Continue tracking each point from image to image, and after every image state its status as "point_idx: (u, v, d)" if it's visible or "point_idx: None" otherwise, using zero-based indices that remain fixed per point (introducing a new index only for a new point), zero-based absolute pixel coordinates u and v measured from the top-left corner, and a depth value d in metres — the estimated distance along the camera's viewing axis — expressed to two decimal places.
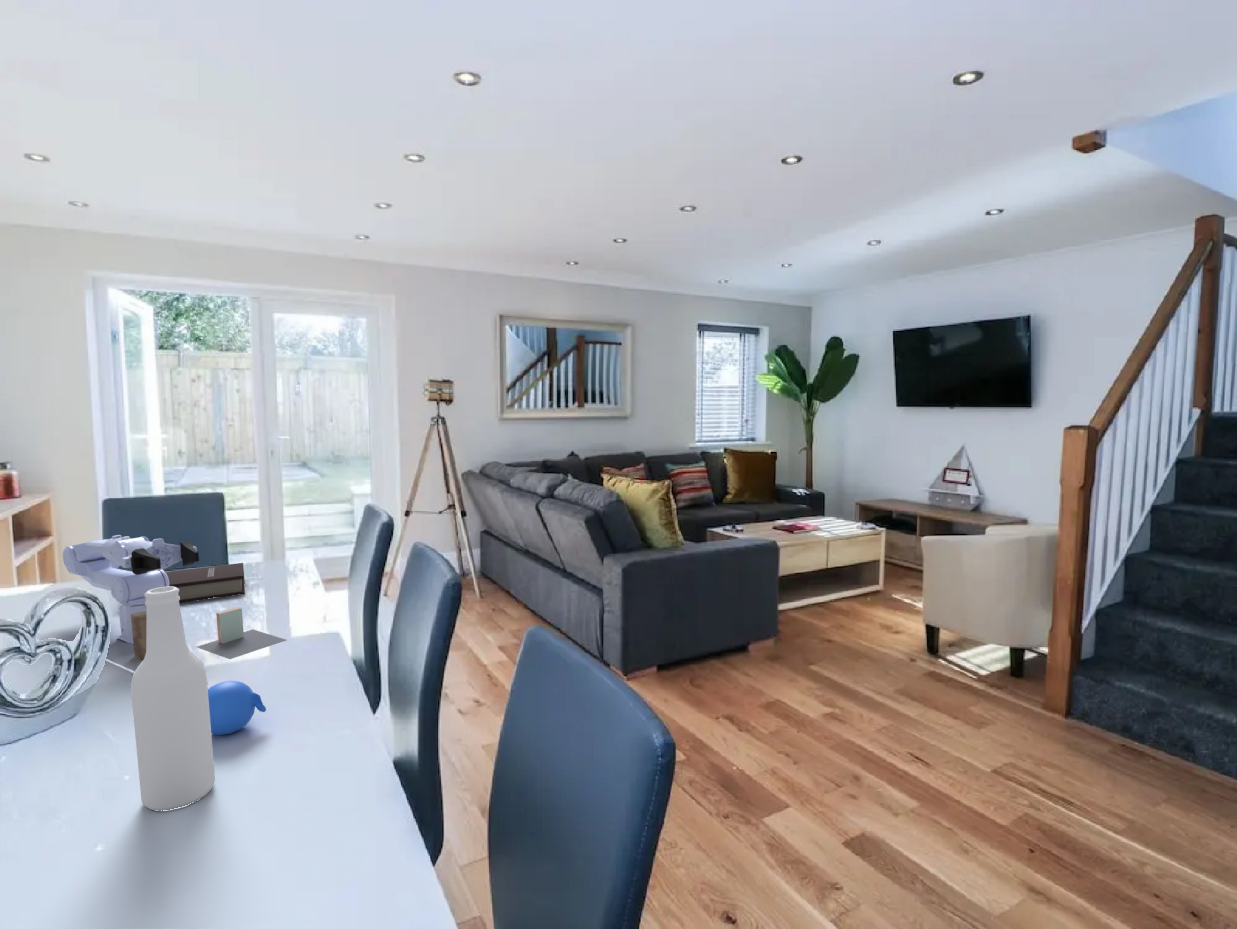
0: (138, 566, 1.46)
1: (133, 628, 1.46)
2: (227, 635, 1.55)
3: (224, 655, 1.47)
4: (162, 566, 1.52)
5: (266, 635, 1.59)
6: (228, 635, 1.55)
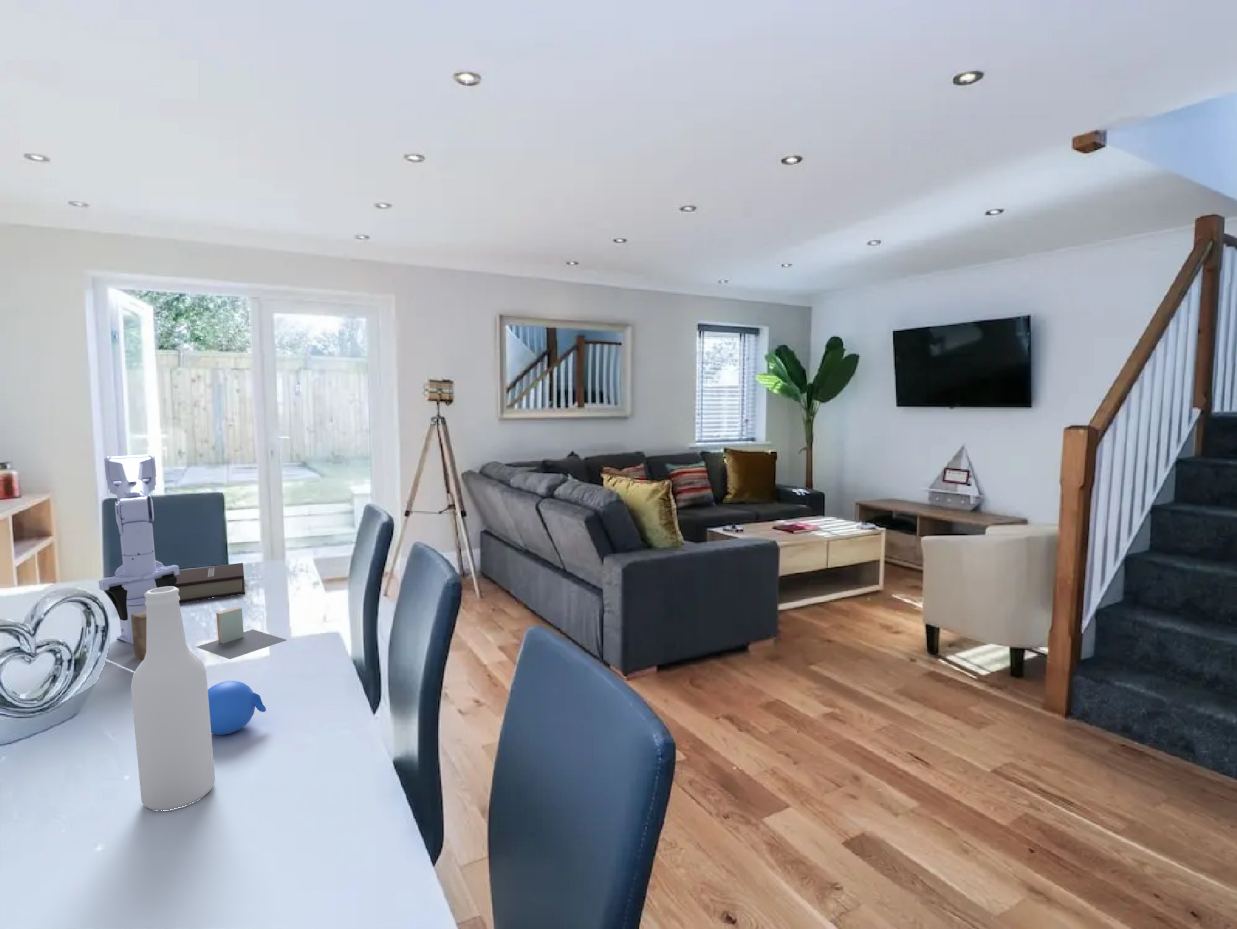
0: None
1: (133, 628, 1.46)
2: (227, 635, 1.55)
3: (224, 655, 1.47)
4: None
5: (266, 635, 1.59)
6: (228, 635, 1.55)
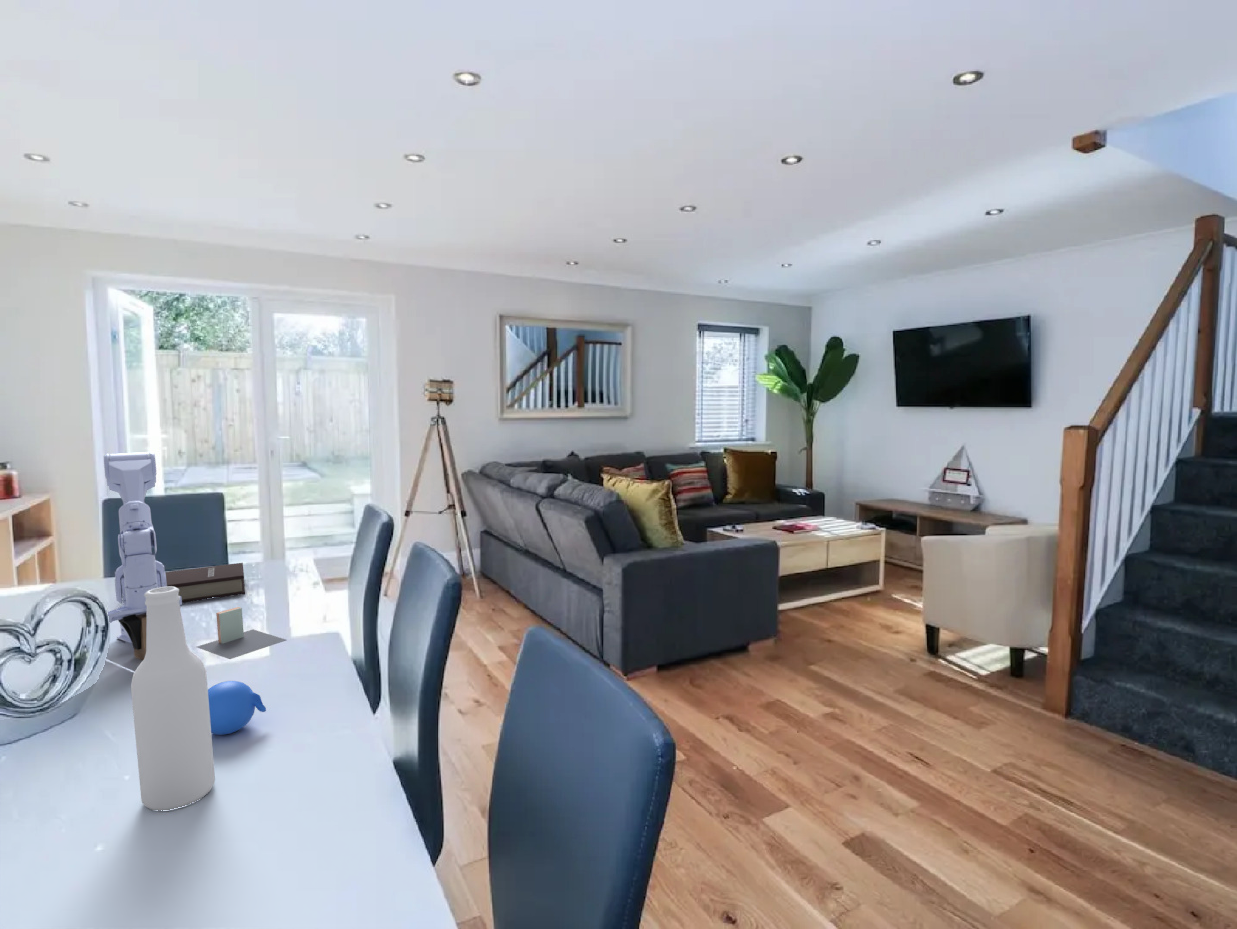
0: None
1: None
2: (227, 635, 1.55)
3: (224, 655, 1.47)
4: None
5: (266, 635, 1.59)
6: (228, 635, 1.55)
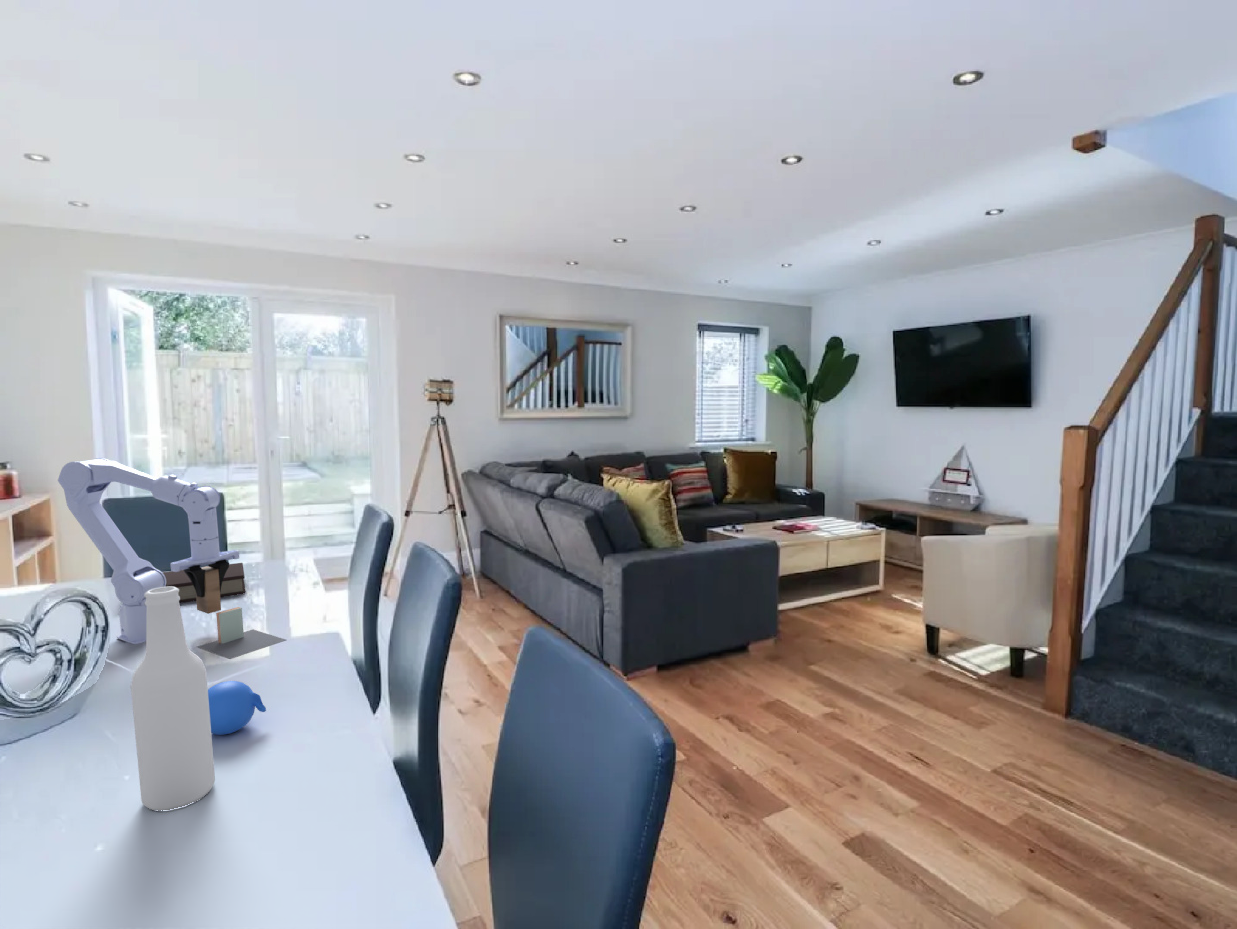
0: None
1: None
2: (227, 635, 1.55)
3: (224, 655, 1.47)
4: None
5: (266, 635, 1.59)
6: (228, 635, 1.55)
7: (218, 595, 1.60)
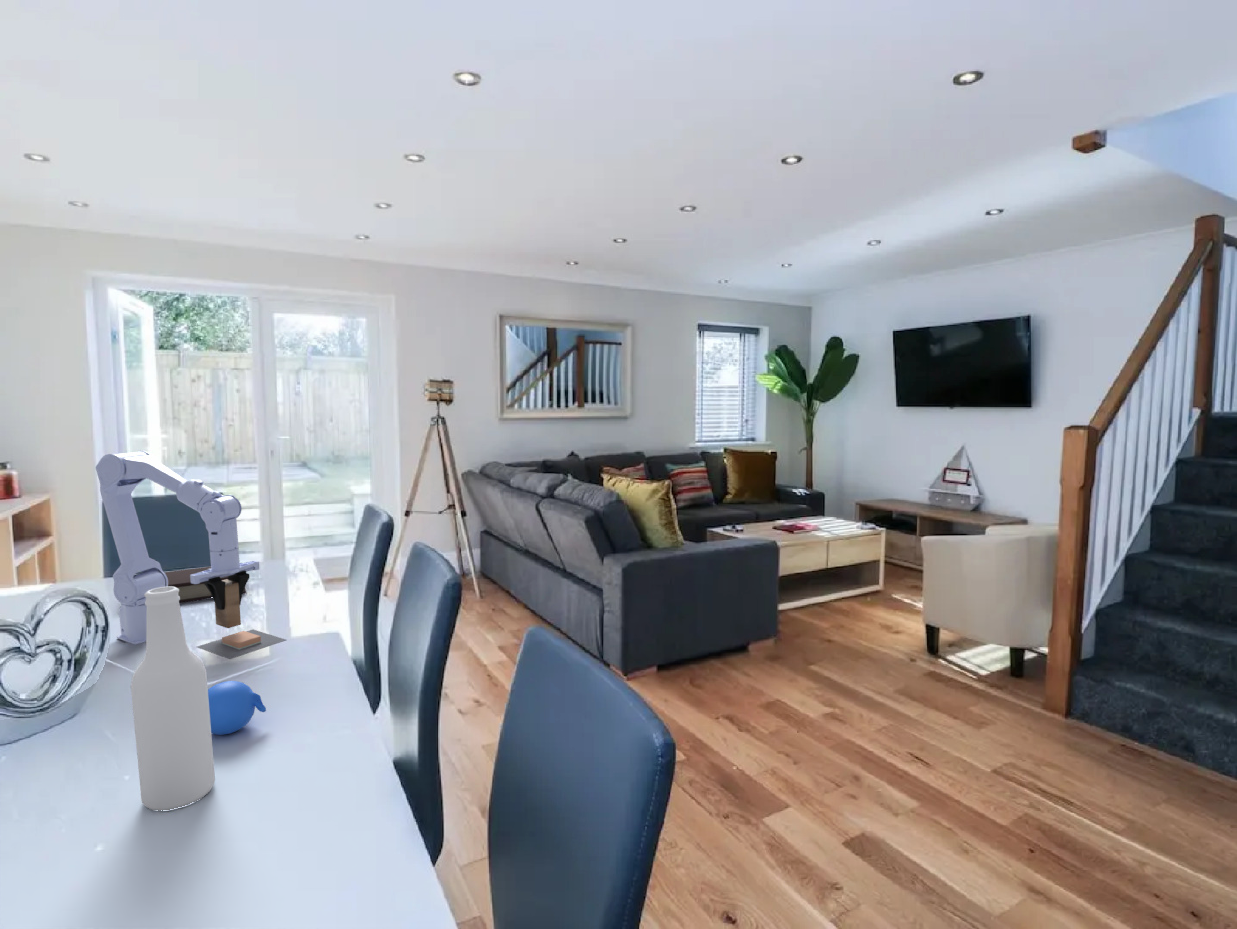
0: None
1: None
2: None
3: (224, 655, 1.47)
4: None
5: (266, 635, 1.59)
6: None
7: (238, 609, 1.56)
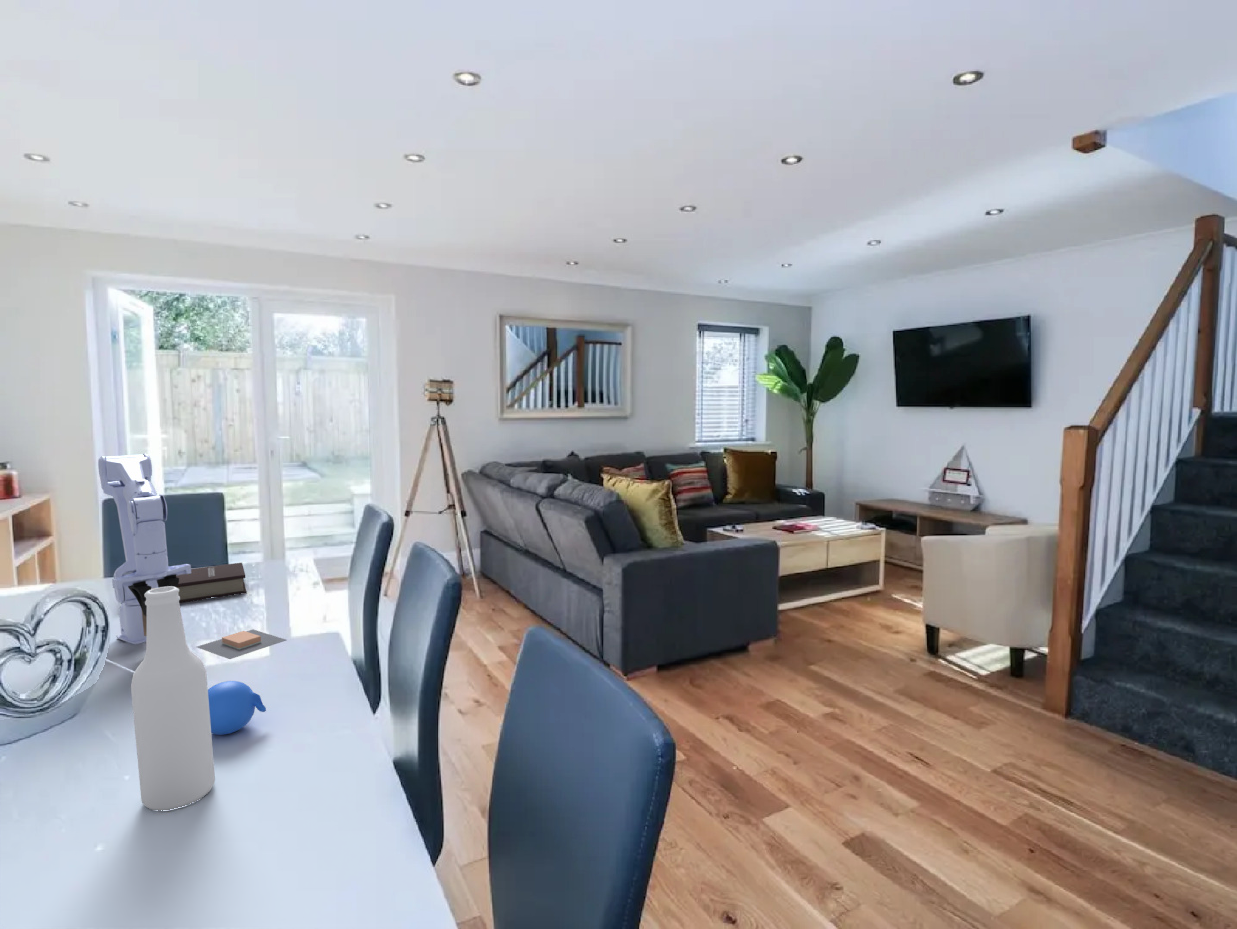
0: None
1: None
2: None
3: (224, 655, 1.47)
4: None
5: (266, 635, 1.59)
6: None
7: None
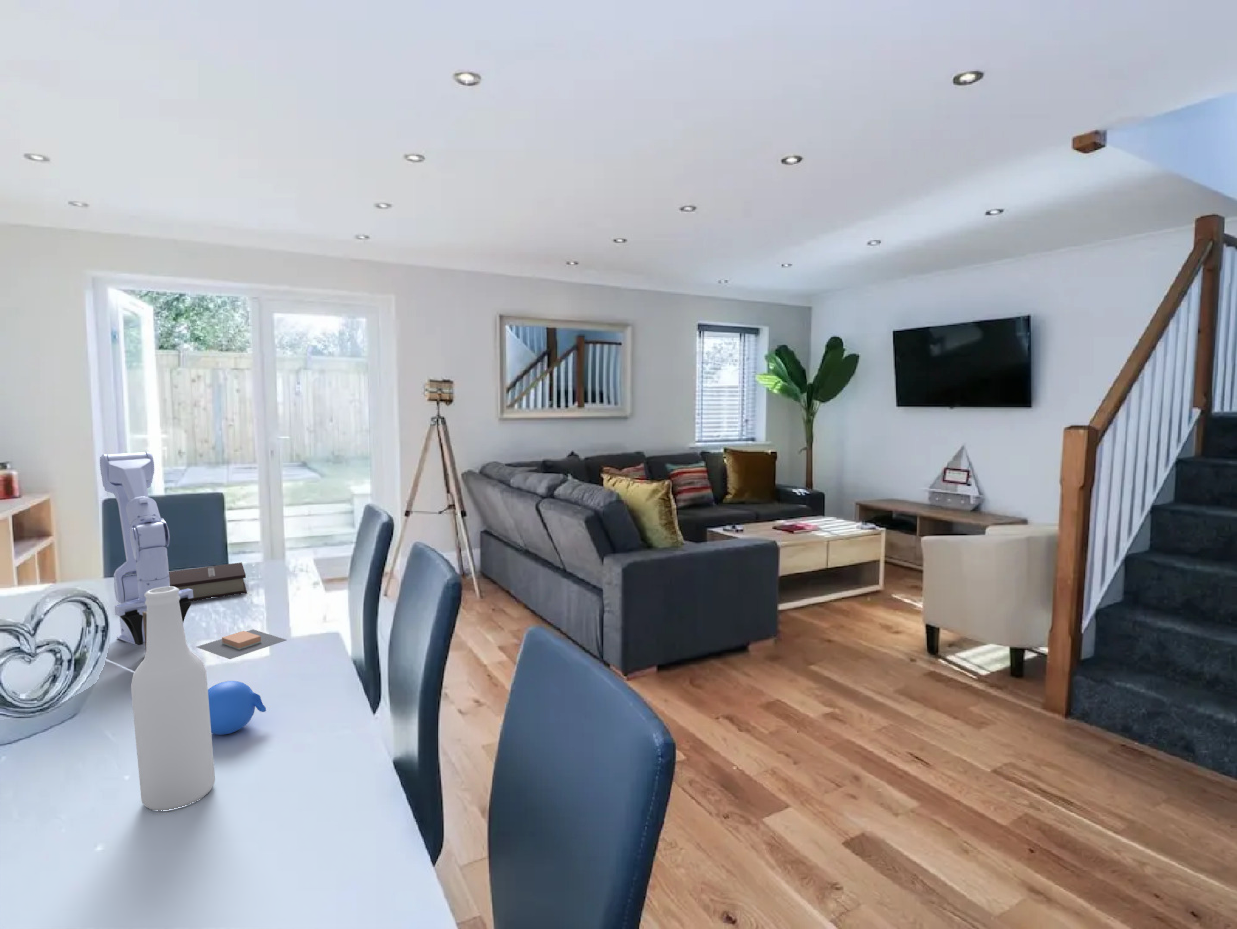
0: None
1: (145, 626, 1.47)
2: None
3: (224, 655, 1.47)
4: None
5: (266, 635, 1.59)
6: None
7: None
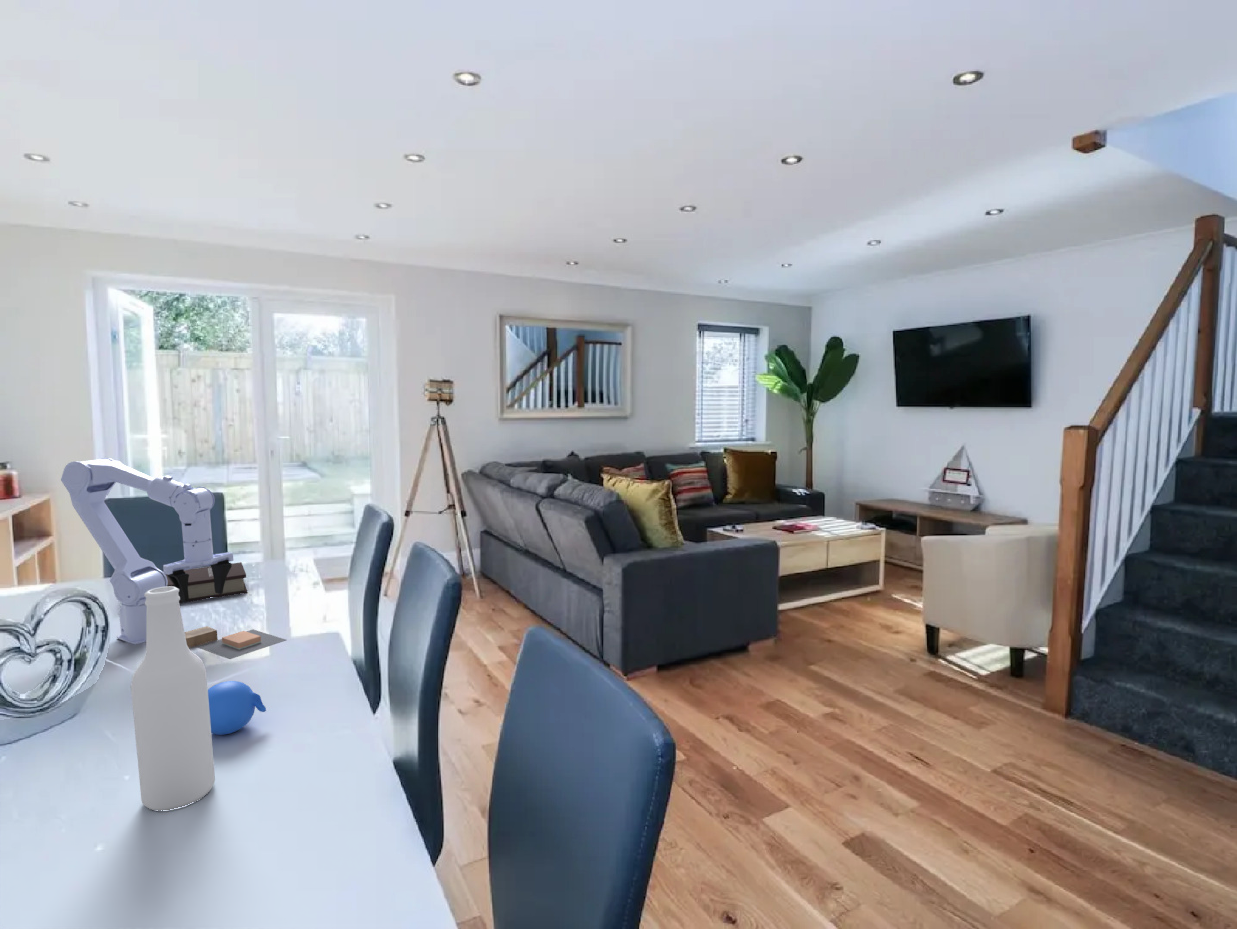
0: None
1: (194, 630, 1.57)
2: None
3: (224, 655, 1.47)
4: None
5: (266, 635, 1.59)
6: None
7: None
